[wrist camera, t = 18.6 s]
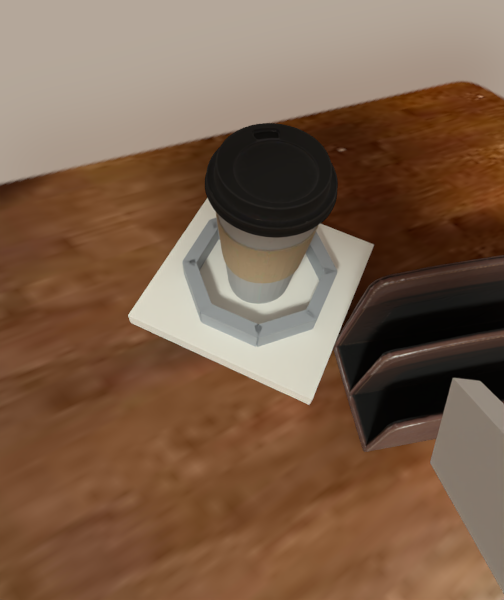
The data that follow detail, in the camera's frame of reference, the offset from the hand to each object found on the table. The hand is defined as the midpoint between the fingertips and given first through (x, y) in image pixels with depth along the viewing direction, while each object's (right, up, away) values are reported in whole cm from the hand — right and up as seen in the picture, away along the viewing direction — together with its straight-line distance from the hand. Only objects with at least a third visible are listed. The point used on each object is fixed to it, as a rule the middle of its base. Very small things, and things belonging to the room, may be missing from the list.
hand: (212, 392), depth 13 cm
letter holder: (+19, -5, +29) cm, 35 cm away
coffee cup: (+2, +5, +31) cm, 31 cm away
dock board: (+2, +4, +32) cm, 32 cm away
